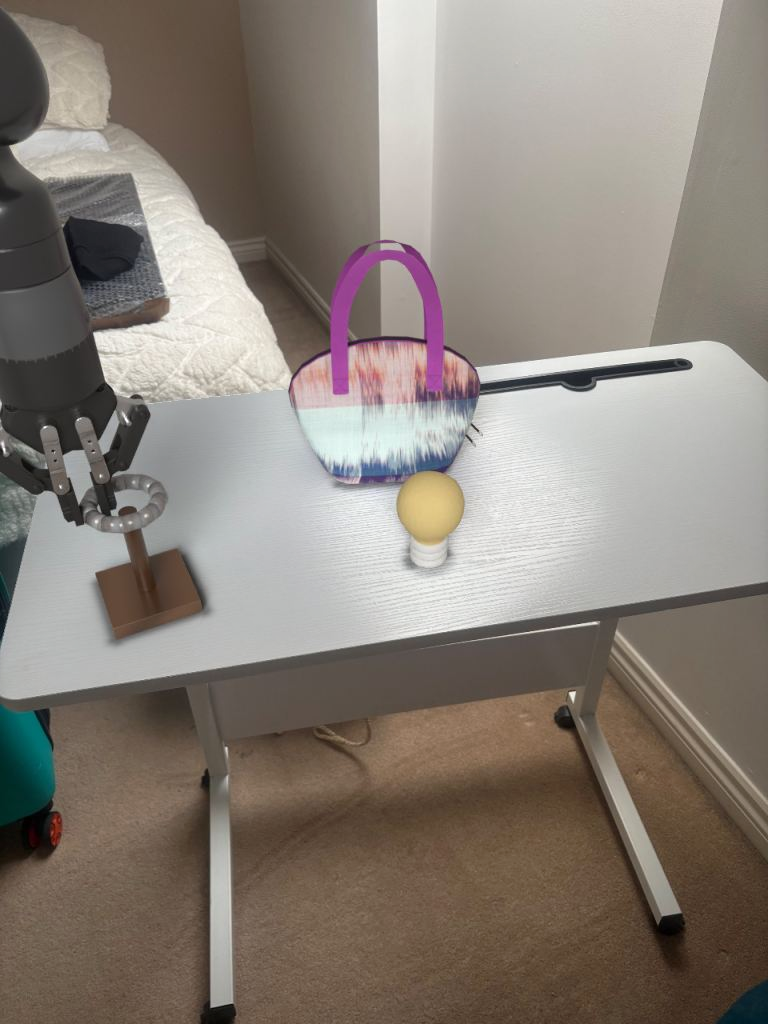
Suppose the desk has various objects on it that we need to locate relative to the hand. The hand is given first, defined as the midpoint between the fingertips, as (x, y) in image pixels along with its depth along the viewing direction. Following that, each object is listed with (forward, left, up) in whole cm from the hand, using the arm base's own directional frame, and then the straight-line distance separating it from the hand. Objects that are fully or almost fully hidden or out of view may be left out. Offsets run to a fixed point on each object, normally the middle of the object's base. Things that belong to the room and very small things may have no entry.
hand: (91, 515), depth 70 cm
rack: (+3, 0, -11) cm, 11 cm away
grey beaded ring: (+3, 0, 0) cm, 3 cm away
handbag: (+33, +10, -11) cm, 36 cm away
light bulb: (+29, -7, -11) cm, 32 cm away
